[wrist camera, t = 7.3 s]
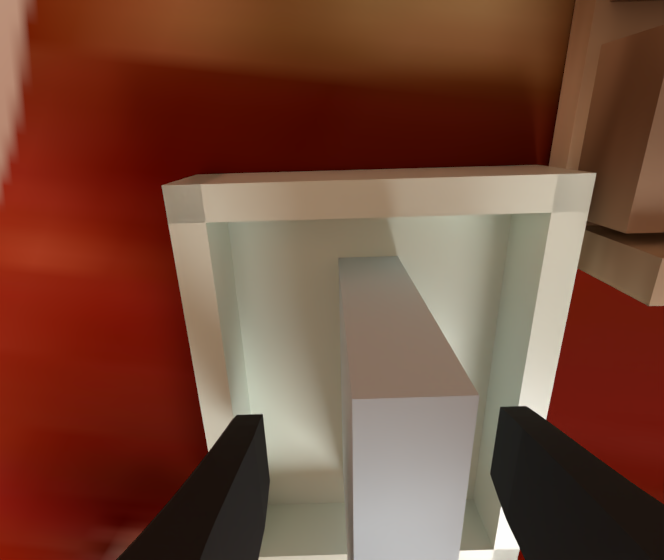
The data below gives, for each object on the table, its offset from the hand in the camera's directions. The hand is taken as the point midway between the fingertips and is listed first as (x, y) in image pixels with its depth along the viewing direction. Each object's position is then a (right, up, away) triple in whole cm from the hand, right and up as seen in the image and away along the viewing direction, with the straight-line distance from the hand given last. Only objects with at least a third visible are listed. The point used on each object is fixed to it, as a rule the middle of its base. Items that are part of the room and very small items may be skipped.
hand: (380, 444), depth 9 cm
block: (0, +1, +3) cm, 3 cm away
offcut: (+6, +7, 0) cm, 9 cm away
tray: (0, +1, +3) cm, 3 cm away
